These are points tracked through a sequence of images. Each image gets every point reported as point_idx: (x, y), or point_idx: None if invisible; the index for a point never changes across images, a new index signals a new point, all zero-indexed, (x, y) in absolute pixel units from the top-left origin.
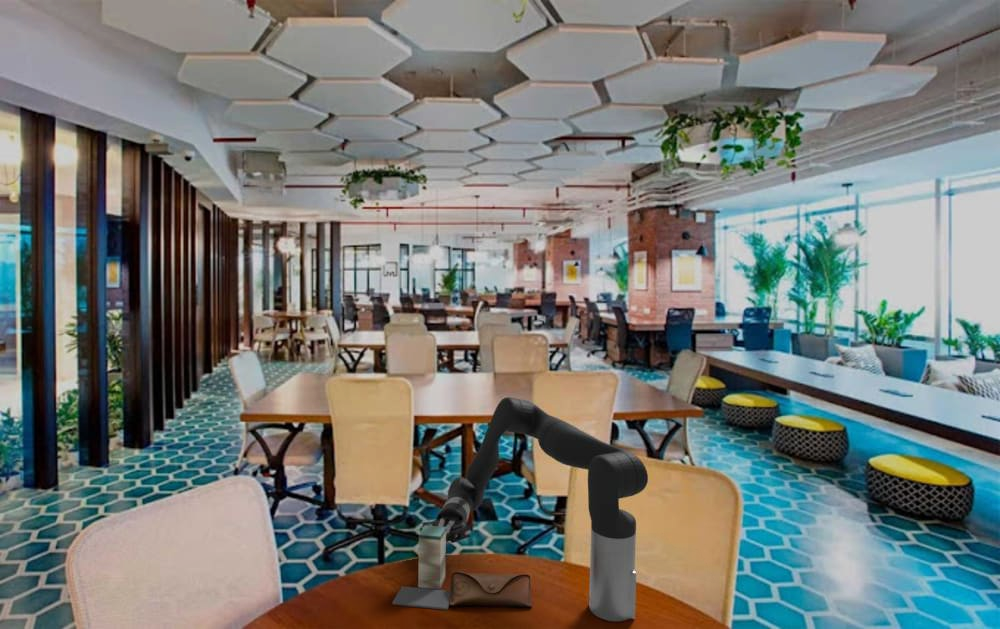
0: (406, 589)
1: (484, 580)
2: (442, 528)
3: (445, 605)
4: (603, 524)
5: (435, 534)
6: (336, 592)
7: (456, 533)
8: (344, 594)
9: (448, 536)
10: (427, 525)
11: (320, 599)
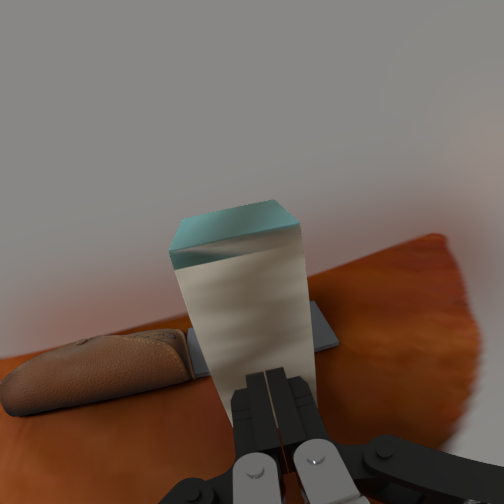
0: (317, 338)
1: (90, 343)
2: (186, 240)
3: (194, 331)
4: None
5: (207, 216)
6: (440, 280)
7: (168, 502)
8: (423, 283)
9: (229, 474)
10: (480, 483)
11: (437, 263)
